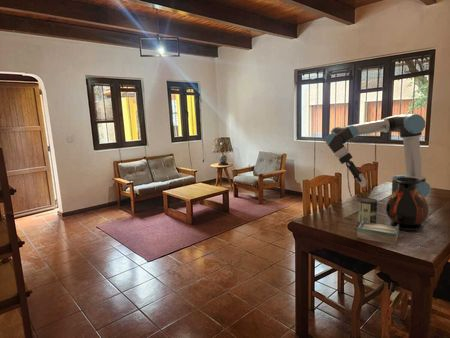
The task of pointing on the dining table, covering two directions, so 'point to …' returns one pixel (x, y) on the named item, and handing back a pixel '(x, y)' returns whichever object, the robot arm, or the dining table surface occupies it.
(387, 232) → the clear glass tray
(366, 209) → the coffee can
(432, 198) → the dining table surface
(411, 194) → the amphora vase
